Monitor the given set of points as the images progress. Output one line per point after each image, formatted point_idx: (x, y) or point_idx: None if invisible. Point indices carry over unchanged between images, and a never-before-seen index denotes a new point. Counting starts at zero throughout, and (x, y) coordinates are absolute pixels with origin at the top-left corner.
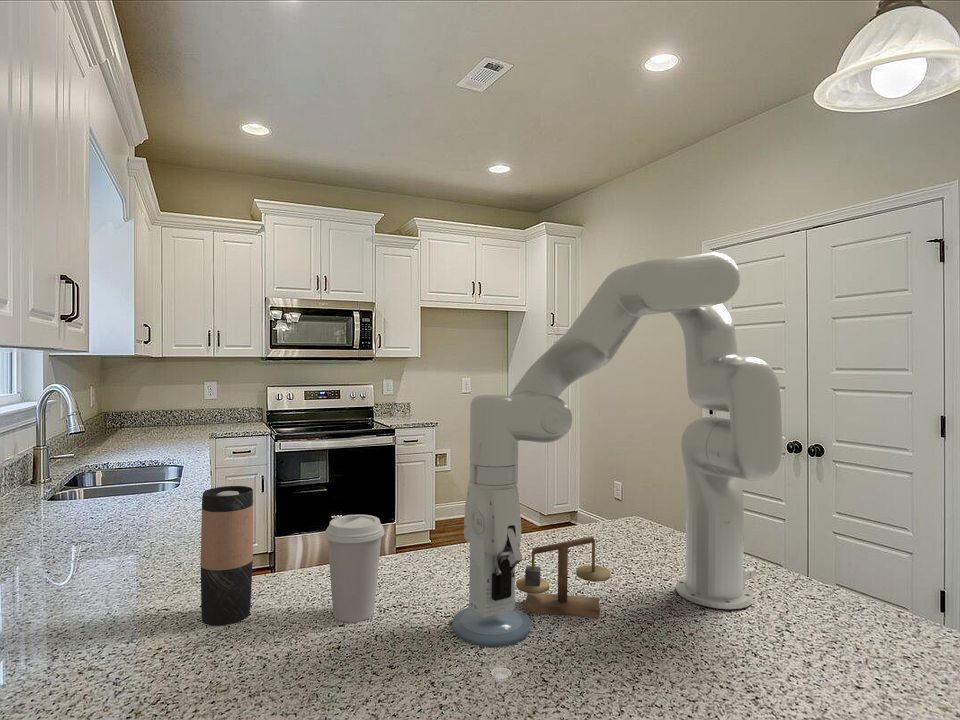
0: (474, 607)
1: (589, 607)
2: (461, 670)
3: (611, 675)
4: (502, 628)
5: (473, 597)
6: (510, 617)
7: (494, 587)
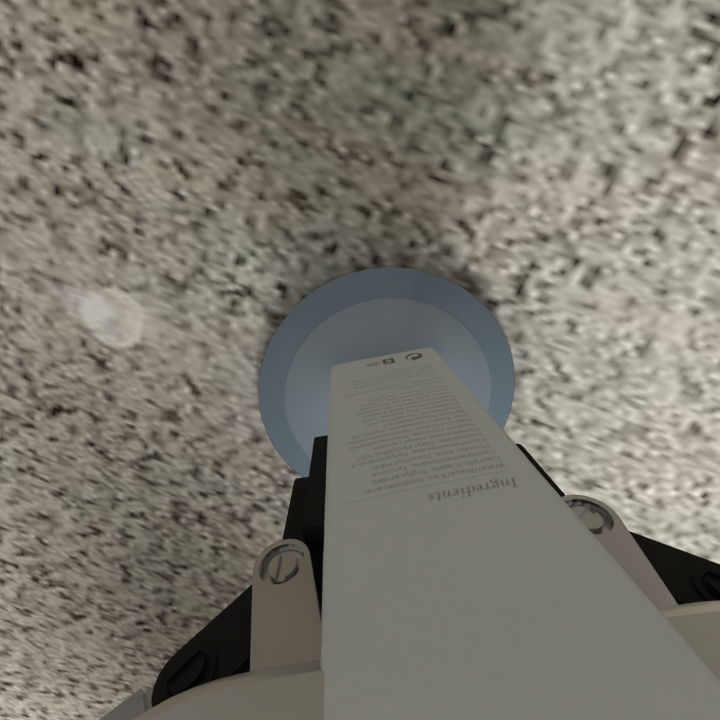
0: (391, 358)
1: None
2: (144, 200)
3: (65, 549)
4: (318, 410)
5: (409, 372)
6: None
7: (310, 476)
